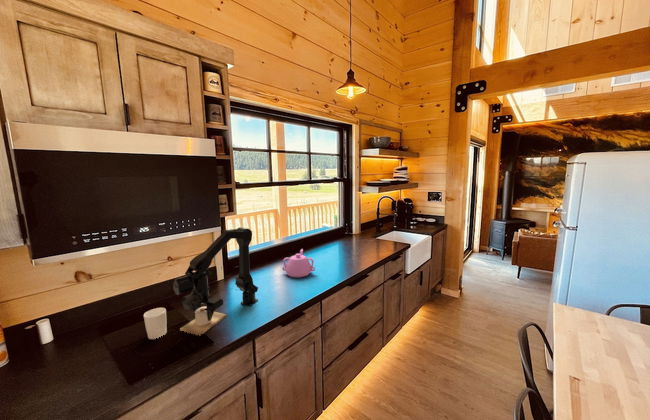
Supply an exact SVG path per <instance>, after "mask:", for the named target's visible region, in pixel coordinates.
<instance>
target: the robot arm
mask: <svg viewBox="0 0 650 420" xmlns="http://www.w3.org/2000/svg"><path fill="white" fill-rule="evenodd" d="M231 239H233V240H234V239H235V241H236V242H237V245H238V260H239V261H238V263H239V266H238V267H239V274H238V276H235V277H234V278H235V286H236V288H238V289H239V291H240V292H241V291H242V296H241V297H242V298H241V299H242V301H241V302H240V304H241V305H243V306H244V305H245V306H250V307H251V306H253V305H254V304H255V303H257V302H258V301H259V299H258V298H256V293H257V292H258V289H259V286H257V285H255V284H254V280H253V277H252V275H251V271H250V270H251V269H250V244H251V242H252V241H253V231H252V230H251V229H250V228H247V227H237V228H234V229H224V230H223V231H222V232H221V234H219V236H218V237H217V238H216V239H215V240H214V241H213V242H212V243H211V244H210V245H209V246H208V247H207V248H206V249H205V250H204V251H203V252H201V253H199V254H197V255H196V256H195V257H194V258H192V259H191V260H190V262H189V266H188V268H187V269H186V271H185V273H184V275H182V276H181V277H179V276H178V277H176V278H174V281H173V283H172V284H173V285H172V289H173V291H174V293H175V296H176V295H177V296H179V295H181V294H184V293H187V292H191V293H188V294H187V295H185V296H183V297H182V298H181V304H182V305H183V308H184V309H185V310H187V311H188V310H189V311H192V312H193V313H194V314H195V310H196V309H198V308H200V307H202V304H203V305H206V306H207V308H206V309H204V310H206V311H207V316H208V320H209V321H210V320H211V318H212V316H213V313H214V312H216V310H217V309H218V308H220V307H221V306H223V305H224V300H223V299H222V298H220V297H214V298H212V295H211V294H210V293H209V290H210V289H211V286H209V282H208V276H210V275H212V274H213V273H212V271H210V270H209V268H210V266H211V265H212V263H213V260H214V258H215V257H216V256H217V255H218V254H219V252H220V251H221V250H222V249H223V248H224V247H225V246H226V245H228V242H230V240H231Z"/></svg>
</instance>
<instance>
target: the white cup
mask: <svg viewBox="0 0 650 420" xmlns="http://www.w3.org/2000/svg"><path fill="white" fill-rule="evenodd" d="M143 319H144V321H143V322H144V325H145V331H146V334H147V339H149V340H156V338H157V339H160V338H162V337H163V335H164V336H165V335H166V334H167V333H168V330H167V329H168V327H167V323H168V322H167V309H166V308H165V307H156V308H153V309H149V310H148V311H146V312H144V314H143ZM161 336H162V337H161ZM159 337H160V338H159Z"/></svg>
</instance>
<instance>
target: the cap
mask: <svg viewBox="0 0 650 420" xmlns="http://www.w3.org/2000/svg"><path fill="white" fill-rule="evenodd" d="M206 308H207V306H201V307H200V308H198V309H196V310H195V313H194V317H195V318H194V319H196V325H200V326H202V325H206V324H208V323H210V322H211V321H212V318H211V320H210V321H209V320H208V316H207V311H206V310H204V309H206Z"/></svg>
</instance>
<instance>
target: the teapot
mask: <svg viewBox="0 0 650 420" xmlns="http://www.w3.org/2000/svg"><path fill="white" fill-rule="evenodd" d="M286 260H288V261H287V263H286ZM310 261H311V262H310ZM282 263H283V266H282V269H281V270H282V271H285V273H286V274H287V275H288V276H289V277H291V278H304V277H307V276H309V275H310V274H311V272H314V271H316V268H315V267H314V259H313V258H312V257H308V258H307V256H306V255H304V249H303V248H301V249H300V250H299V253H295V255H291V256H290V257H284V259H283V260H282Z"/></svg>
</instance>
